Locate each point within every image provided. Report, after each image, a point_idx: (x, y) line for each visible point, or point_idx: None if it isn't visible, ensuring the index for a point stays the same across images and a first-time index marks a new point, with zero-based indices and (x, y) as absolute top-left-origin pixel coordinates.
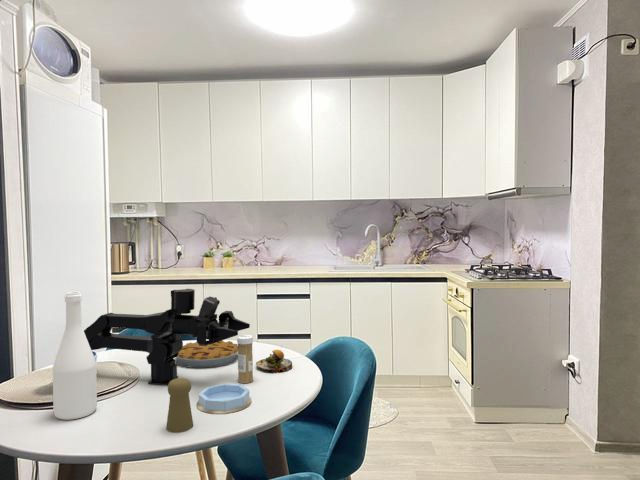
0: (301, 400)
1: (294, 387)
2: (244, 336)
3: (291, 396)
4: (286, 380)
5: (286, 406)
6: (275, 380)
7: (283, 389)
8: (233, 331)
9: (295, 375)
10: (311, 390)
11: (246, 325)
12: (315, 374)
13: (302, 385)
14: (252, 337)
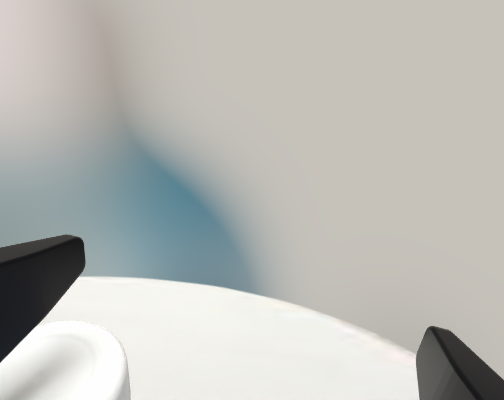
0: (341, 329)
1: (235, 337)
2: (37, 381)
3: (315, 350)
4: (158, 355)
5: (398, 368)
6: (143, 394)
7: (252, 369)
8: (479, 370)
9: (115, 325)
10: (263, 301)
11: (61, 265)
12: (132, 279)
13: (220, 316)
14: (90, 324)
